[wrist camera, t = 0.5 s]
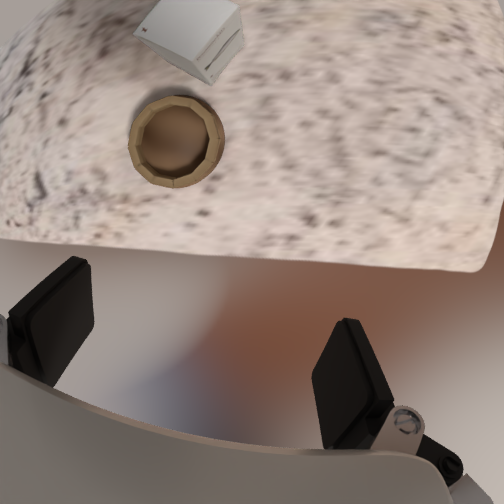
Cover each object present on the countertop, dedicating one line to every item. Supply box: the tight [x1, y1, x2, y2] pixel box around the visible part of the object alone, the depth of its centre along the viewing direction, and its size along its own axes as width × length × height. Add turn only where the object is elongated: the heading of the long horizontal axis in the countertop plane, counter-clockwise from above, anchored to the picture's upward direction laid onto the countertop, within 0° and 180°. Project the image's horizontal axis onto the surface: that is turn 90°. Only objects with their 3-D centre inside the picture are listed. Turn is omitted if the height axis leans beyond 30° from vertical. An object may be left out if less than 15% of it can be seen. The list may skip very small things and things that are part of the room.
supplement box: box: [133, 0, 244, 86], centre depth 24 cm, size 7×7×13 cm
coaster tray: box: [128, 95, 225, 188], centre depth 33 cm, size 12×12×4 cm
